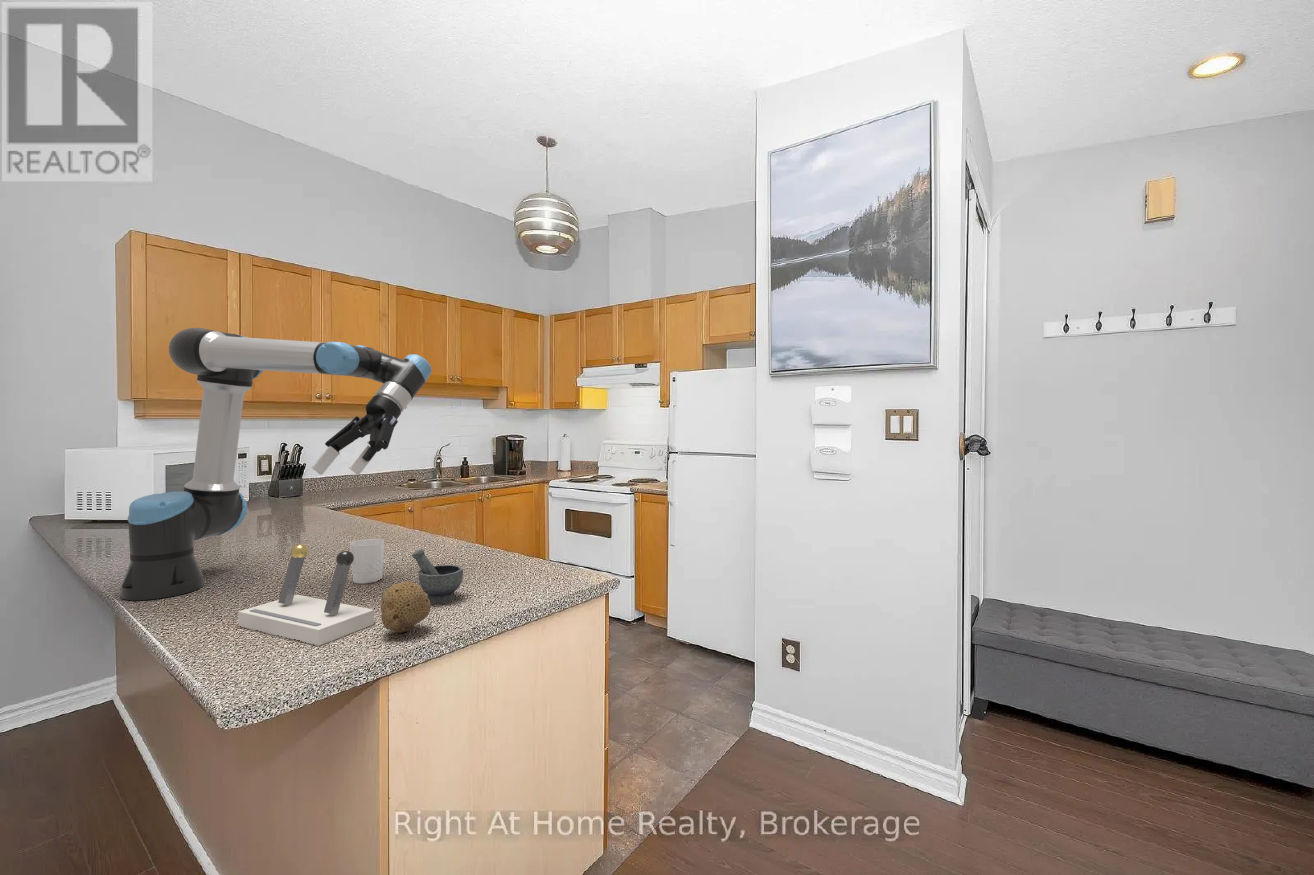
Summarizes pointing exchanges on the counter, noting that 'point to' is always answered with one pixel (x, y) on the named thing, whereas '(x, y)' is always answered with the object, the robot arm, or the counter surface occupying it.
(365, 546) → the white cup
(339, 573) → the black lever
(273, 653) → the counter surface
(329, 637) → the control panel
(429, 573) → the mortar and pestle
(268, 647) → the counter surface
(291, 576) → the brass lever
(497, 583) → the counter surface
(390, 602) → the natural sponge
